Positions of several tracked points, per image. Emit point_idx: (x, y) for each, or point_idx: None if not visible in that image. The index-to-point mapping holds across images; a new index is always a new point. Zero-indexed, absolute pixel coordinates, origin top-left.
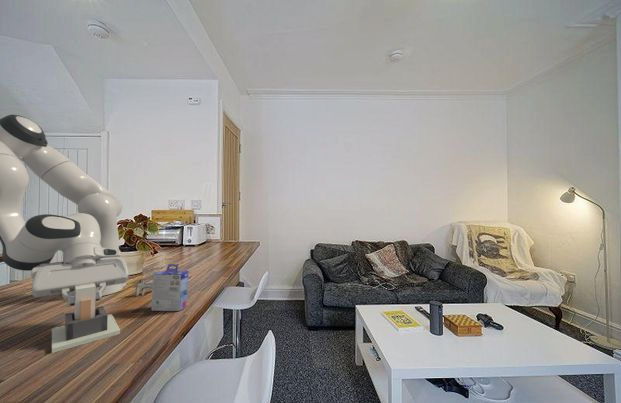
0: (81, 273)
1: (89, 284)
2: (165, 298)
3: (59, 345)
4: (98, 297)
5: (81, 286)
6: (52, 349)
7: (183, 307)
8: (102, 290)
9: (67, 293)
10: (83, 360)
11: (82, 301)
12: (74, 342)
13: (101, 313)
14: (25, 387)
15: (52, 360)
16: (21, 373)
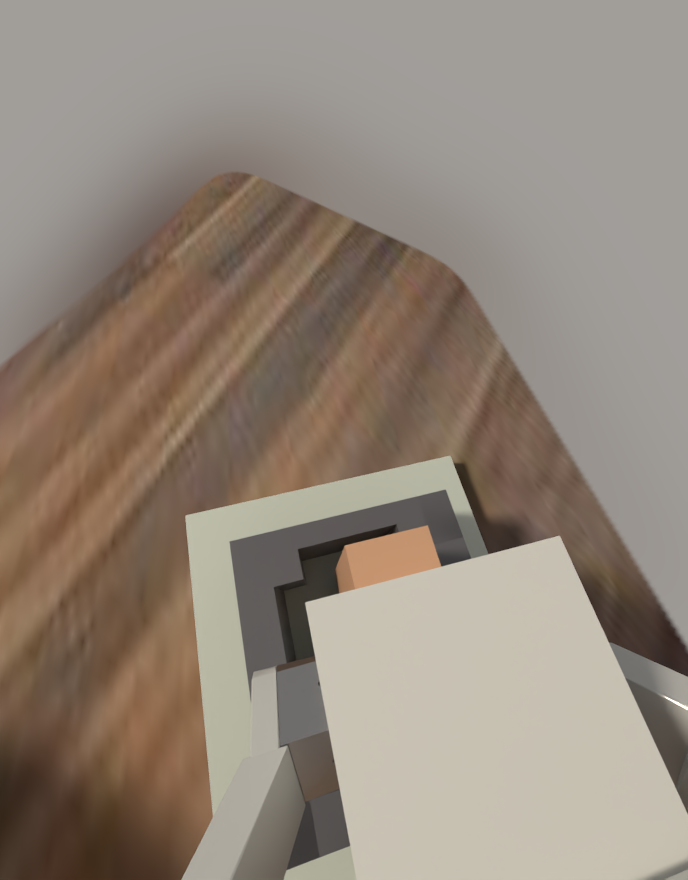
0: None
1: (458, 878)
2: None
3: (432, 475)
4: (286, 663)
5: (559, 739)
6: (447, 457)
7: None
8: (234, 782)
9: (667, 694)
10: (316, 347)
11: (414, 530)
12: (377, 474)
13: (271, 611)
14: (429, 284)
15: (418, 400)
16: (479, 362)
